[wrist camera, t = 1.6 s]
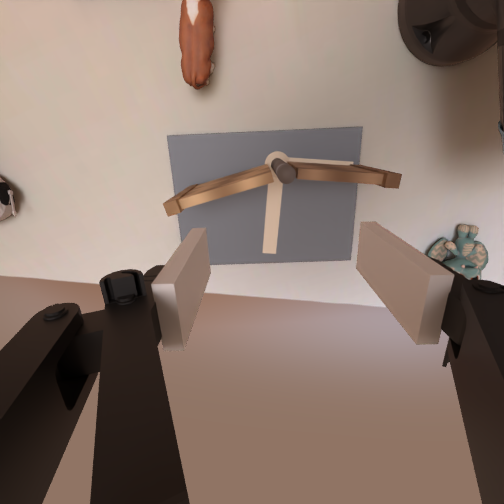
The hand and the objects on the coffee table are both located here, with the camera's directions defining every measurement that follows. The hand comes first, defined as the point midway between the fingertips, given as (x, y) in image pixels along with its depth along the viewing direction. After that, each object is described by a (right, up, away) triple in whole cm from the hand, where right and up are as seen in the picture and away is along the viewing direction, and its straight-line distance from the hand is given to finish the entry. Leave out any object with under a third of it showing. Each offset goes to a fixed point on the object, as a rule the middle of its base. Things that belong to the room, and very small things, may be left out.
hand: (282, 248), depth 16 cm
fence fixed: (+8, +14, +30) cm, 34 cm away
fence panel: (-5, +12, +30) cm, 33 cm away
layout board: (+1, +8, +33) cm, 34 cm away
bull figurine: (-8, +30, +25) cm, 39 cm away
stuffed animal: (+34, -1, +36) cm, 50 cm away
